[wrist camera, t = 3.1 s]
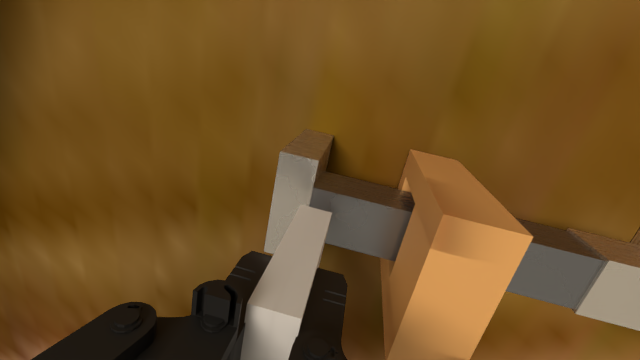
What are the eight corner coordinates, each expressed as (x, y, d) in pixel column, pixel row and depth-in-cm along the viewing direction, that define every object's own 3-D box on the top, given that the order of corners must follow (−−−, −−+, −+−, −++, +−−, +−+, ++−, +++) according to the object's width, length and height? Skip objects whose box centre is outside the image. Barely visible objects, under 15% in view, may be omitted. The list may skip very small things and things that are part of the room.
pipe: (291, 204, 24) (263, 251, 17) (306, 129, 22) (279, 151, 15) (632, 292, 22) (735, 380, 16) (683, 218, 20) (828, 285, 13)
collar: (379, 245, 22) (385, 363, 13) (410, 149, 19) (443, 214, 10) (421, 256, 22) (456, 384, 13) (457, 160, 19) (533, 236, 10)
